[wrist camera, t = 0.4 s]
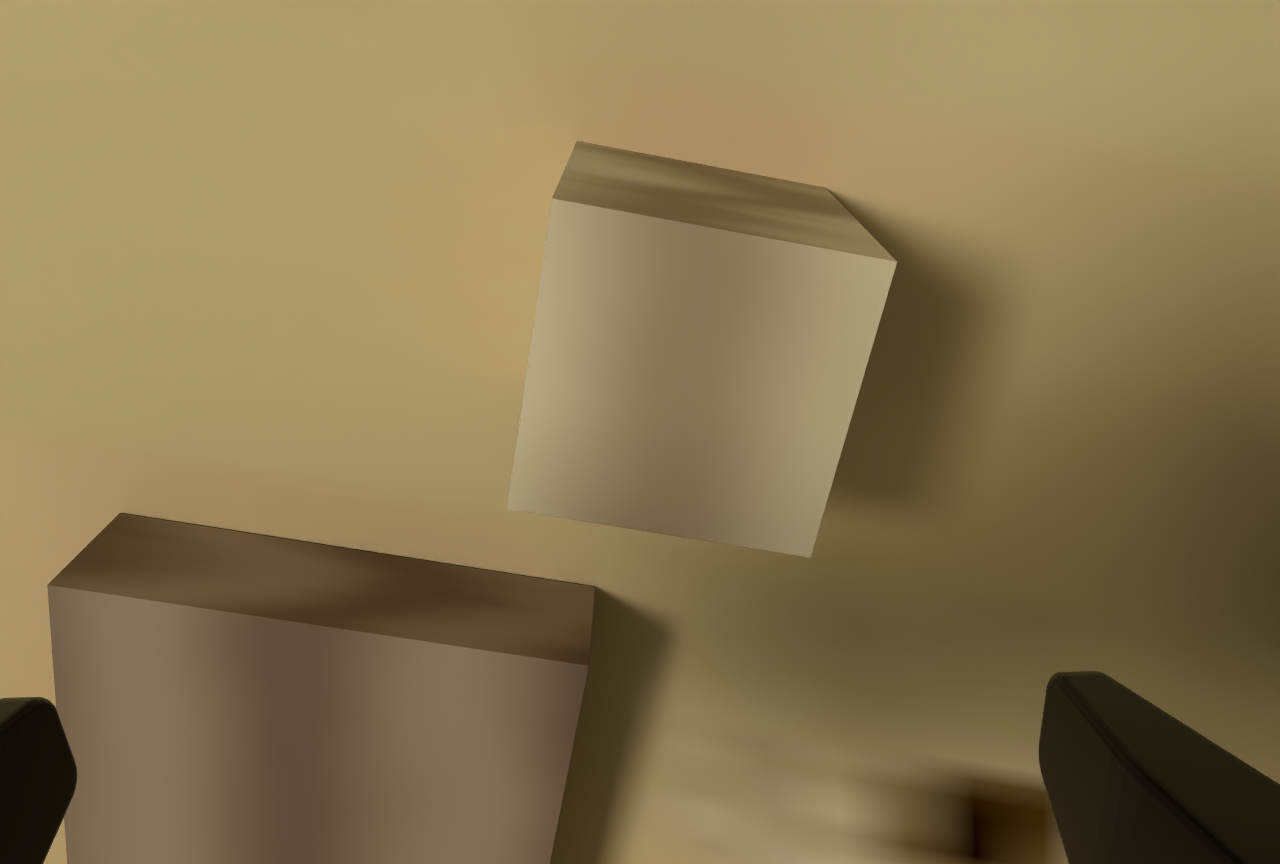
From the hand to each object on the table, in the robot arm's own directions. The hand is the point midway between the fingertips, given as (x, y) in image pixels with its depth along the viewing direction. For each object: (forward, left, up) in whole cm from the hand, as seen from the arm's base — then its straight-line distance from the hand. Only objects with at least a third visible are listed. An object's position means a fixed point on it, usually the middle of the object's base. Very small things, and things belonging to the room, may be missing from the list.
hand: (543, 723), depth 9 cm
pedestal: (+4, +12, -13) cm, 18 cm away
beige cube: (-2, -1, -13) cm, 13 cm away
